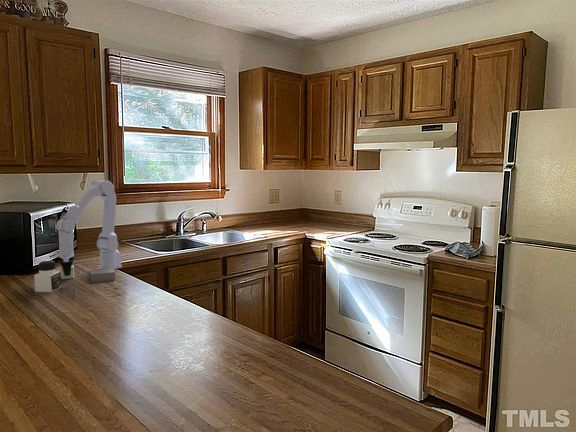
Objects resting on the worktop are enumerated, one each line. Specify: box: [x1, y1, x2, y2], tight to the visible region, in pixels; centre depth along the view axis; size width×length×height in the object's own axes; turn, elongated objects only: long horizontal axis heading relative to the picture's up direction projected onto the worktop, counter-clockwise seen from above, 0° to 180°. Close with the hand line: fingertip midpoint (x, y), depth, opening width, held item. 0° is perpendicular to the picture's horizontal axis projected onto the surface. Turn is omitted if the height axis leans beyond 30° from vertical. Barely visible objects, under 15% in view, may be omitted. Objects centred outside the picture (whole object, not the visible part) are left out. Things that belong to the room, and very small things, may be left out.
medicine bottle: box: [33, 260, 62, 293], centre depth 182 cm, size 7×7×12 cm
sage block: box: [60, 264, 75, 280], centre depth 203 cm, size 5×5×5 cm
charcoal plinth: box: [90, 267, 116, 283], centre depth 202 cm, size 10×10×4 cm
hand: (67, 274), depth 203 cm, fingers closed on sage block, 5 cm apart
